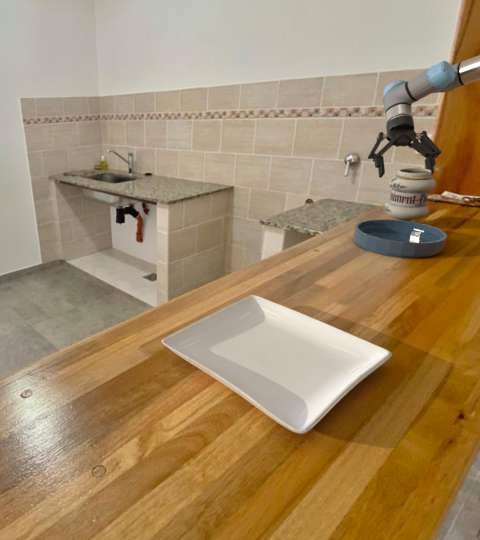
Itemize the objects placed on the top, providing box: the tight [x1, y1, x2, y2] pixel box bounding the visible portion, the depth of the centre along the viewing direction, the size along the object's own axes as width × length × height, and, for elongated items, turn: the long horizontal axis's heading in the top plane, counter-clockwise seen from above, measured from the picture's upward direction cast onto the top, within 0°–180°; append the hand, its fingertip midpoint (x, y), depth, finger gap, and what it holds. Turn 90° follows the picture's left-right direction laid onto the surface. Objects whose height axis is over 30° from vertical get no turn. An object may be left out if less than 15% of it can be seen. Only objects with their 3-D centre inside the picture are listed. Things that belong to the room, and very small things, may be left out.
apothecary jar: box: [382, 167, 437, 222], centre depth 121 cm, size 12×12×18 cm
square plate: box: [161, 294, 393, 435], centre depth 66 cm, size 27×27×4 cm
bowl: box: [352, 218, 448, 259], centre depth 110 cm, size 21×21×4 cm
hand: (405, 175), depth 123 cm, fingers open, 13 cm apart
